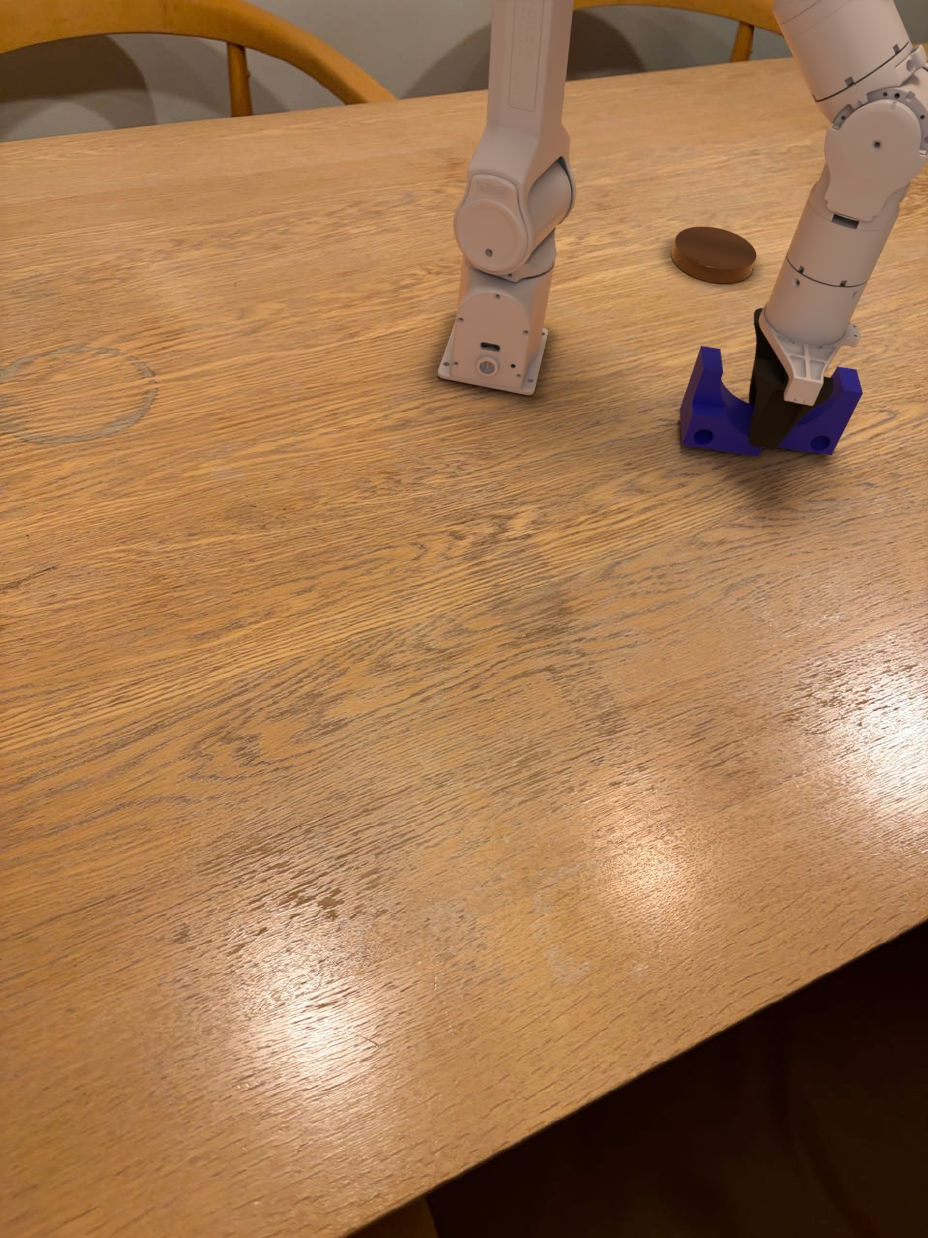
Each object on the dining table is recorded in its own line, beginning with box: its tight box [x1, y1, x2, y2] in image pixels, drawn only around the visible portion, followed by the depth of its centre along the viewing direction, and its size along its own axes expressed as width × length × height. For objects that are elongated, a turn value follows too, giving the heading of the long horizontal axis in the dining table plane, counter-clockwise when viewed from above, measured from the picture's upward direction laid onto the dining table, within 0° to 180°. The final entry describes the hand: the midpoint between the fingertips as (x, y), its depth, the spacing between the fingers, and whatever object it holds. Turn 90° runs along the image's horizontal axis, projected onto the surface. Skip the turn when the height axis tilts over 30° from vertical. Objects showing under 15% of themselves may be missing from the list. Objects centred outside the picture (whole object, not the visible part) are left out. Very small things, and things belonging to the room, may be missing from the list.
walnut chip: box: [670, 225, 757, 284], centre depth 97 cm, size 8×8×2 cm
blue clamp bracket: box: [679, 345, 864, 457], centre depth 76 cm, size 12×4×6 cm, turn 84°
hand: (761, 423), depth 77 cm, fingers closed on blue clamp bracket, 5 cm apart
